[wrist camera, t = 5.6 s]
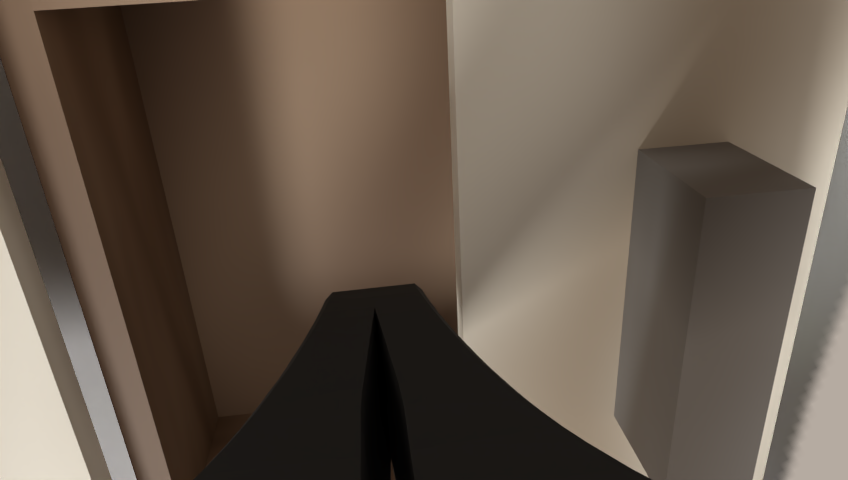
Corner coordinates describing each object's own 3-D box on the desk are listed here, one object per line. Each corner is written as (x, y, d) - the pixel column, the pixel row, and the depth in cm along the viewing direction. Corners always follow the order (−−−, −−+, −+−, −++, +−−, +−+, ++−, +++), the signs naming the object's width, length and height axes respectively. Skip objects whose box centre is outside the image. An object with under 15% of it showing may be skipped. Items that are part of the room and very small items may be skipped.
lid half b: (859, -88, 9) (1037, -98, 7) (738, 491, 14) (819, 603, 11) (443, -63, 9) (481, -65, 6) (464, 527, 13) (491, 652, 11)
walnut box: (708, -80, 13) (851, -88, 9) (654, 373, 18) (735, 485, 14) (83, -44, 12) (-30, -35, 8) (202, 425, 17) (162, 560, 13)
